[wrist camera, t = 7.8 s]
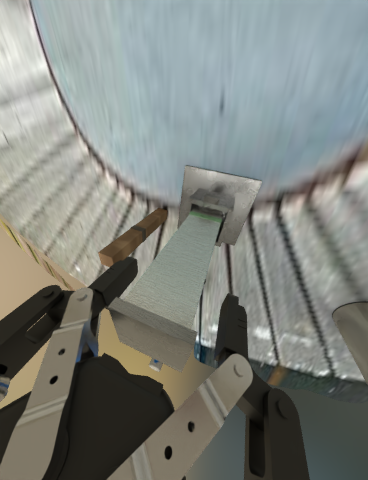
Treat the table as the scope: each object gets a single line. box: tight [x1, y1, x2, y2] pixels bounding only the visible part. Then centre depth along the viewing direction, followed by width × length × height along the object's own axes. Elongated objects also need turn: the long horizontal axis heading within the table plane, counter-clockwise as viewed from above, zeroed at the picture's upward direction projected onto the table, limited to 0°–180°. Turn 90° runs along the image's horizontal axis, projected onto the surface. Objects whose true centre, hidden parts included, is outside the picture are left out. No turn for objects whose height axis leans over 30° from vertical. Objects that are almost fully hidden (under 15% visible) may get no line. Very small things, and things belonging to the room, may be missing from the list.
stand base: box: [177, 165, 262, 247], centre depth 23 cm, size 12×12×7 cm
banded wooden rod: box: [98, 208, 167, 267], centre depth 24 cm, size 2×2×16 cm
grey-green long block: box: [108, 208, 222, 372], centre depth 14 cm, size 5×5×16 cm
